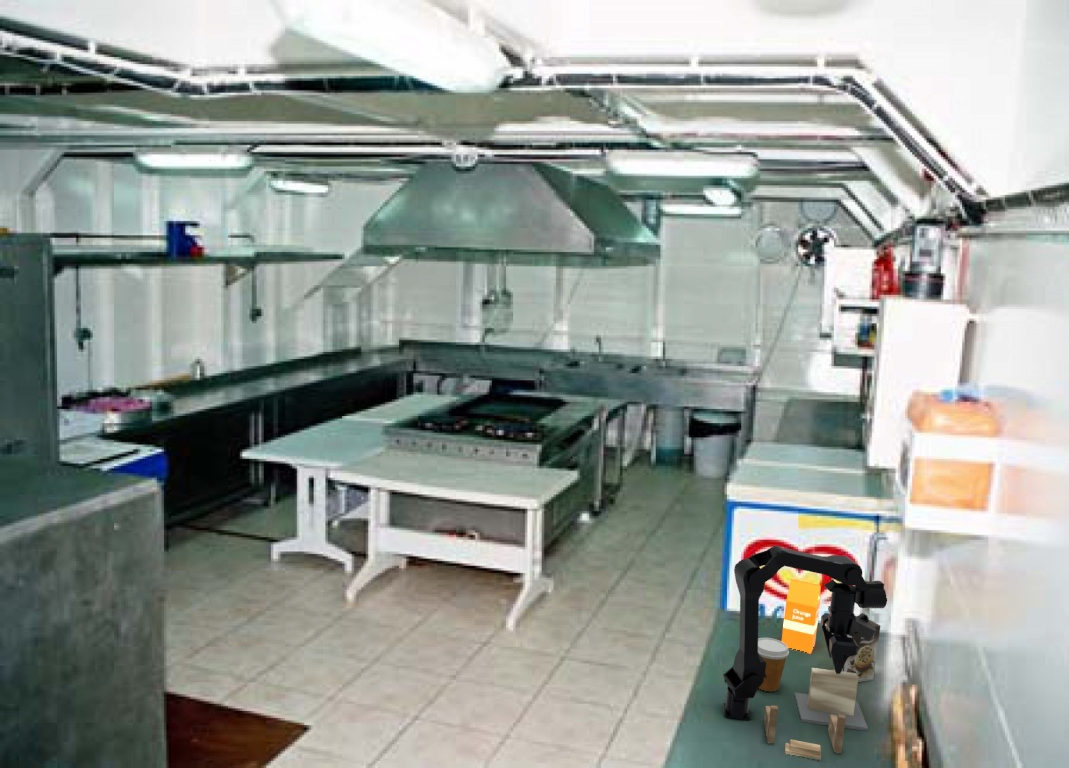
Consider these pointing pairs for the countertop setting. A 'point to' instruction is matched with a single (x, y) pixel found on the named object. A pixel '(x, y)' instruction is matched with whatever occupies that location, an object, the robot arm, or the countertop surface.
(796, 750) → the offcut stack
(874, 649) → the cookie box
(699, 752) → the countertop surface
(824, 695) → the cream flat block
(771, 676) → the disposable coffee cup
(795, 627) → the orange juice
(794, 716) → the countertop surface
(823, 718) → the rubber mat
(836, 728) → the light wood rack
